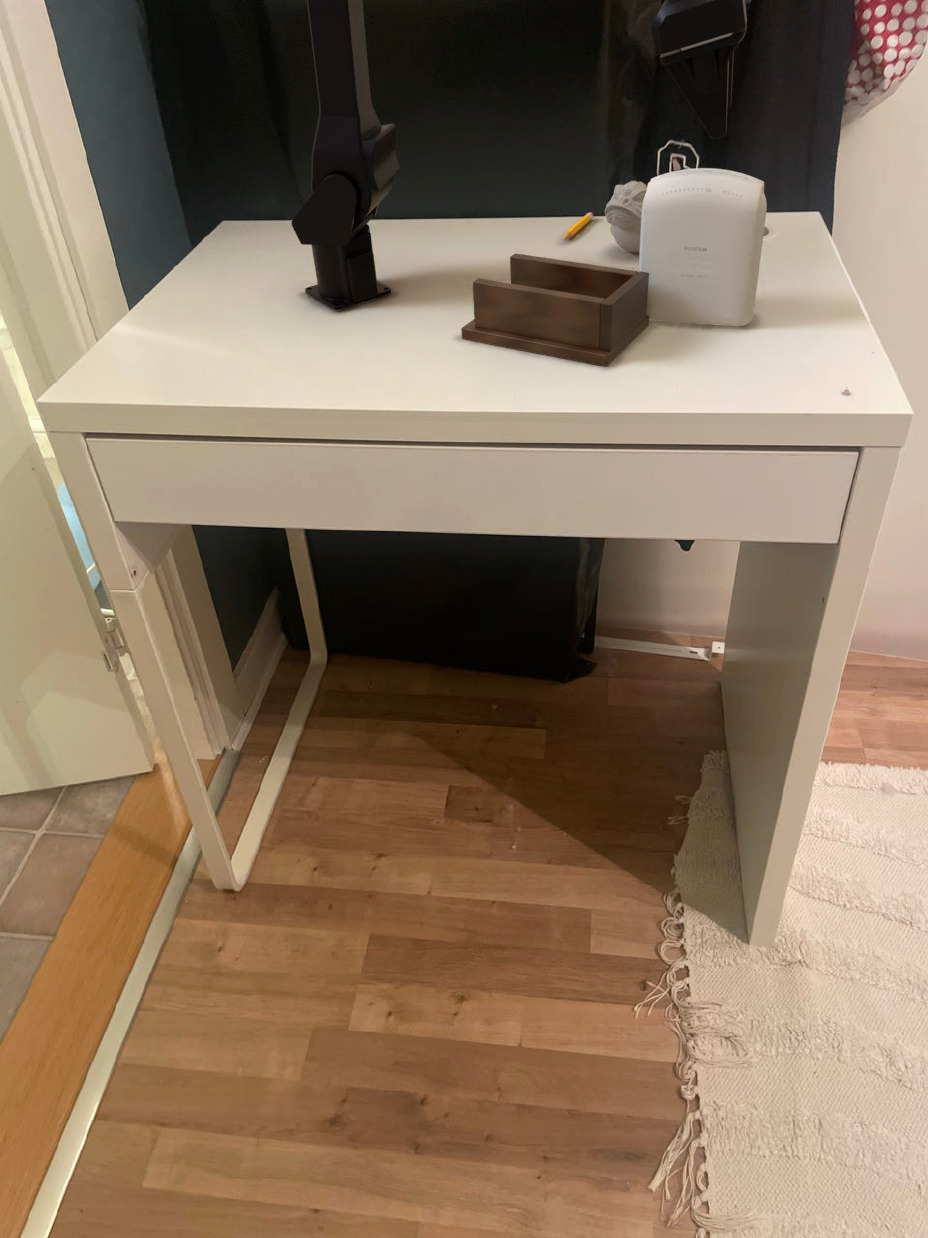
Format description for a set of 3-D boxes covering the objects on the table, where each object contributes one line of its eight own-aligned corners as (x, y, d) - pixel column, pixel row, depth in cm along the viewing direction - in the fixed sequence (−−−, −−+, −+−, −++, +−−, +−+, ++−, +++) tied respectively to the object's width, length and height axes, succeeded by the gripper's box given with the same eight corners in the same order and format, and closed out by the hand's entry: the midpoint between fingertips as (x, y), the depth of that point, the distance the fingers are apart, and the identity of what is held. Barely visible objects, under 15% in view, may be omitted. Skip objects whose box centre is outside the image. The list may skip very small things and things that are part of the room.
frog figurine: (590, 256, 98) (591, 184, 94) (629, 236, 102) (632, 167, 98) (639, 267, 95) (643, 194, 91) (677, 247, 99) (683, 175, 94)
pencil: (594, 218, 107) (594, 212, 107) (565, 243, 101) (565, 236, 101) (587, 217, 107) (587, 211, 107) (558, 242, 102) (558, 236, 101)
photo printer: (630, 322, 85) (639, 174, 77) (641, 303, 88) (649, 160, 80) (748, 332, 82) (770, 180, 74) (755, 313, 85) (776, 164, 77)
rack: (461, 338, 84) (458, 282, 81) (510, 302, 90) (509, 248, 87) (606, 366, 78) (608, 307, 75) (648, 326, 84) (652, 269, 81)
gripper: (811, -151, 58) (833, 122, 67) (805, -160, 71) (824, 67, 80) (630, -83, 62) (673, 165, 71) (658, -104, 76) (691, 106, 84)
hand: (721, 122), depth 76 cm, fingers open, 9 cm apart
